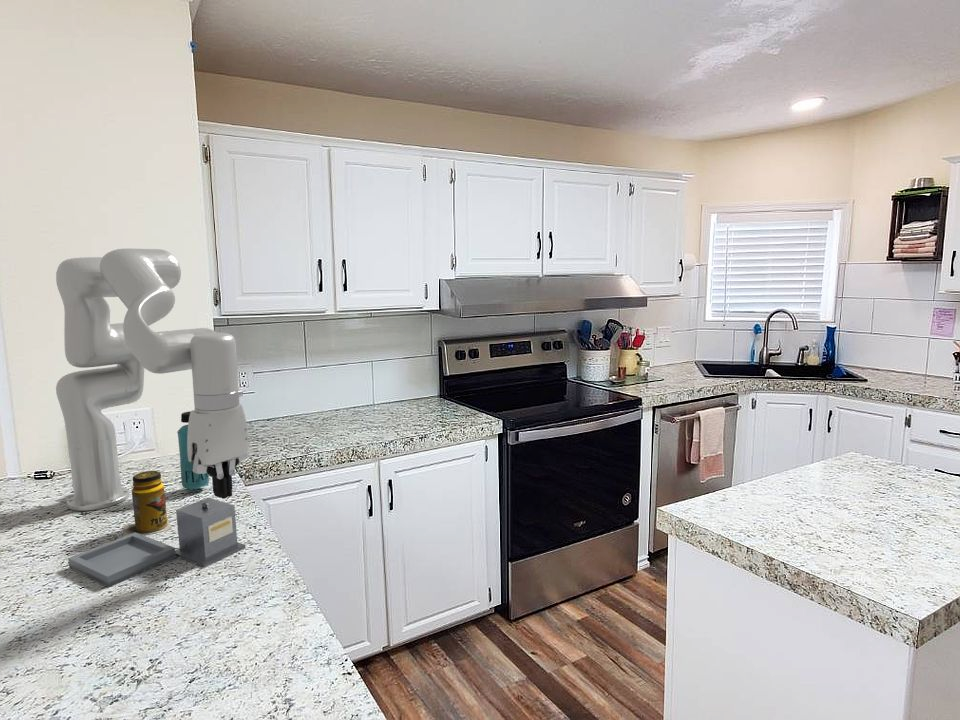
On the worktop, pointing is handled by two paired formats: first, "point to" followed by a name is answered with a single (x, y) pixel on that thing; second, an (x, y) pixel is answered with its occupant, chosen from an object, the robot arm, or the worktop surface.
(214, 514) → the block
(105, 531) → the worktop surface
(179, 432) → the beverage bottle
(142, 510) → the condiment
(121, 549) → the tray
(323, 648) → the worktop surface
